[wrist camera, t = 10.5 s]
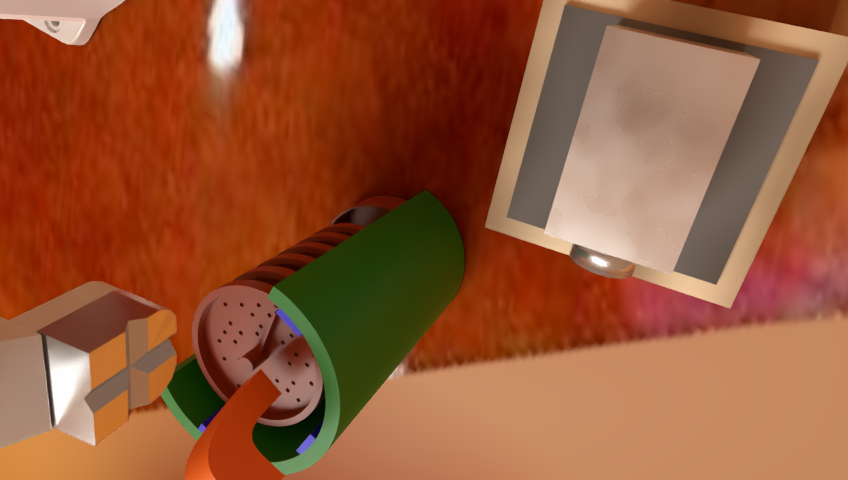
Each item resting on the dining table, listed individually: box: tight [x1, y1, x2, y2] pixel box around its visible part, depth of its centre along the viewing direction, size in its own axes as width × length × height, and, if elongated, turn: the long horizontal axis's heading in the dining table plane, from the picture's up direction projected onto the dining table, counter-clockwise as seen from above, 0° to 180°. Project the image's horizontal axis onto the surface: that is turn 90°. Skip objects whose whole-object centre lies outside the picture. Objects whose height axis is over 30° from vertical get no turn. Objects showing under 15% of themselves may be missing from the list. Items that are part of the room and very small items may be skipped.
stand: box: [485, 0, 848, 308], centre depth 28 cm, size 12×12×5 cm
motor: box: [161, 190, 465, 480], centre depth 30 cm, size 10×9×20 cm
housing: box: [544, 25, 760, 279], centre depth 24 cm, size 9×5×5 cm, turn 169°
